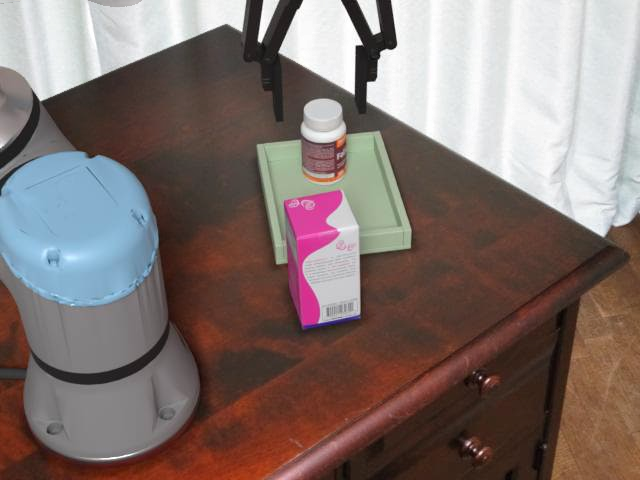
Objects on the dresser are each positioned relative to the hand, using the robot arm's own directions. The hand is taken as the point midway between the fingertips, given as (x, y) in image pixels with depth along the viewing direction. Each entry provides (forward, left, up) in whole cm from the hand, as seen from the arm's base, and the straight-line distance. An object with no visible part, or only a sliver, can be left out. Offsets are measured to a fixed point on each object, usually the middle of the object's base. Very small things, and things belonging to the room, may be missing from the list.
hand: (319, 110), depth 118 cm
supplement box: (-3, -19, -9) cm, 21 cm away
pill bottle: (0, 0, -9) cm, 9 cm away
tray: (0, -4, -9) cm, 10 cm away
